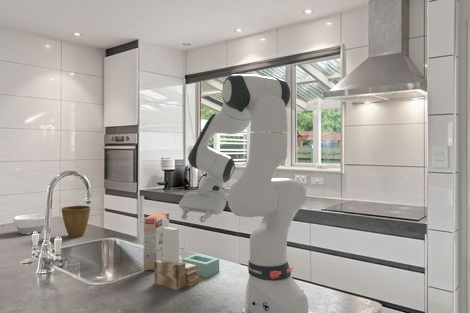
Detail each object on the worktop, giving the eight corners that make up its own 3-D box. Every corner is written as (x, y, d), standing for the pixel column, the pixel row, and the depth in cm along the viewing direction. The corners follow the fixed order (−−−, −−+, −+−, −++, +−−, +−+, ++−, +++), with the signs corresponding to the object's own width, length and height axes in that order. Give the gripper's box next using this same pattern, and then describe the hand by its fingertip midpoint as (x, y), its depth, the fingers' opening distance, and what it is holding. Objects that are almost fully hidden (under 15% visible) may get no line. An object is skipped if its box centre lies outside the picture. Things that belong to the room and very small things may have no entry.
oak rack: (185, 285, 130) (185, 263, 129) (176, 290, 126) (176, 266, 126) (163, 279, 136) (163, 258, 136) (154, 283, 132) (154, 261, 132)
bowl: (46, 227, 228) (45, 212, 228) (50, 233, 214) (50, 216, 213) (12, 231, 218) (12, 215, 218) (14, 237, 204) (14, 220, 203)
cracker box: (157, 271, 145) (156, 218, 145) (143, 270, 147) (142, 218, 146) (170, 260, 159) (169, 212, 159) (157, 259, 160) (156, 211, 160)
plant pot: (66, 240, 195) (65, 210, 195) (58, 235, 207) (58, 207, 206) (94, 236, 205) (94, 207, 204) (86, 231, 216) (85, 204, 216)
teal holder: (219, 271, 144) (219, 258, 144) (206, 277, 138) (205, 264, 138) (196, 266, 151) (196, 253, 151) (182, 271, 145) (182, 258, 145)
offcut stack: (199, 282, 133) (199, 265, 133) (189, 286, 129) (189, 269, 129) (171, 274, 141) (171, 259, 141) (162, 278, 137) (161, 262, 137)
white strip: (179, 284, 131) (178, 228, 130) (175, 286, 129) (174, 229, 129) (167, 281, 134) (166, 226, 134) (163, 283, 133) (162, 227, 132)
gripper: (185, 185, 152) (168, 212, 145) (225, 188, 140) (208, 217, 133) (193, 194, 156) (177, 221, 148) (232, 198, 144) (216, 228, 136)
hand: (192, 220), depth 140 cm, fingers open, 8 cm apart
